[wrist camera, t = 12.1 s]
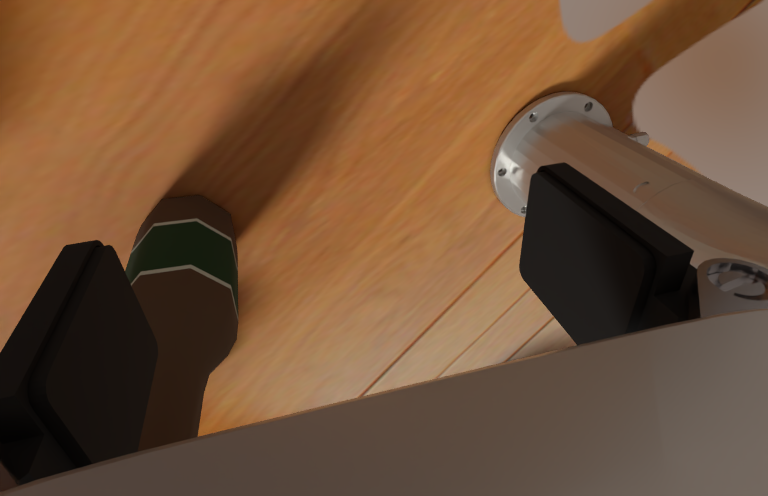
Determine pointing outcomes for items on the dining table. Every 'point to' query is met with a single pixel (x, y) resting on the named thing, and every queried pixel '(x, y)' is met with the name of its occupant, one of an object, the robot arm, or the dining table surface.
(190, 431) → the beer bottle
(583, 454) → the robot arm
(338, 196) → the dining table surface
